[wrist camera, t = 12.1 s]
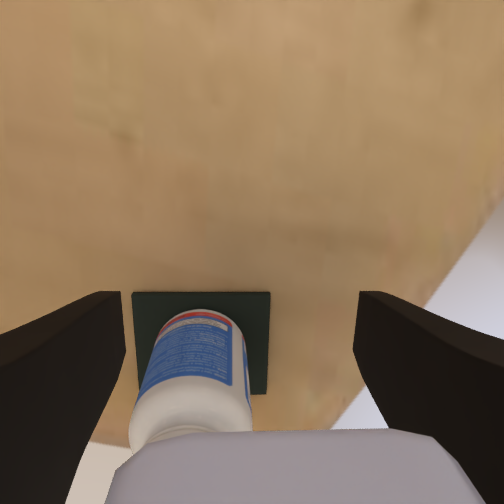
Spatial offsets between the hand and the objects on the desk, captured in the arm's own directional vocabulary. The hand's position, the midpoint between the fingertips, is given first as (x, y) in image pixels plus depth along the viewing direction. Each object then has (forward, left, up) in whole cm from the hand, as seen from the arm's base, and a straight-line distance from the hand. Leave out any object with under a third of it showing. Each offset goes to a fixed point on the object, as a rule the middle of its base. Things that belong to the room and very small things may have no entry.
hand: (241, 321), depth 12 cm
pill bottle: (-2, -7, -10) cm, 13 cm away
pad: (-2, -7, -10) cm, 13 cm away
